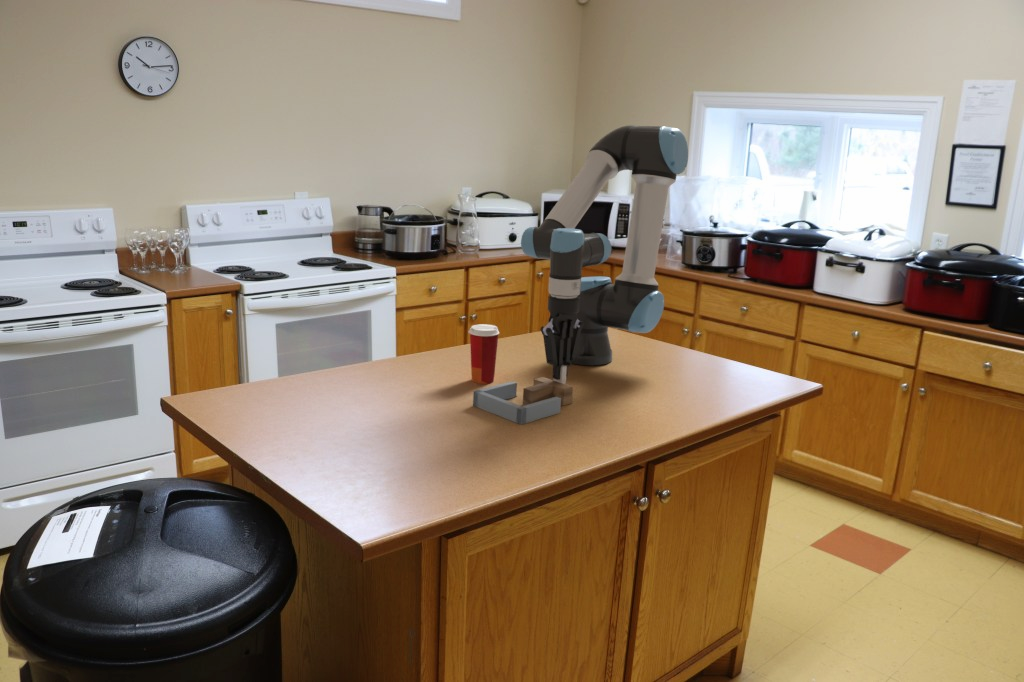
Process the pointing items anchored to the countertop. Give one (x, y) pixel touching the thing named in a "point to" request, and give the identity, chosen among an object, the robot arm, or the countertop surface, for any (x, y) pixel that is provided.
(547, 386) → the tee block
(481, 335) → the paper cup
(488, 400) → the corral
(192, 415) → the countertop surface
